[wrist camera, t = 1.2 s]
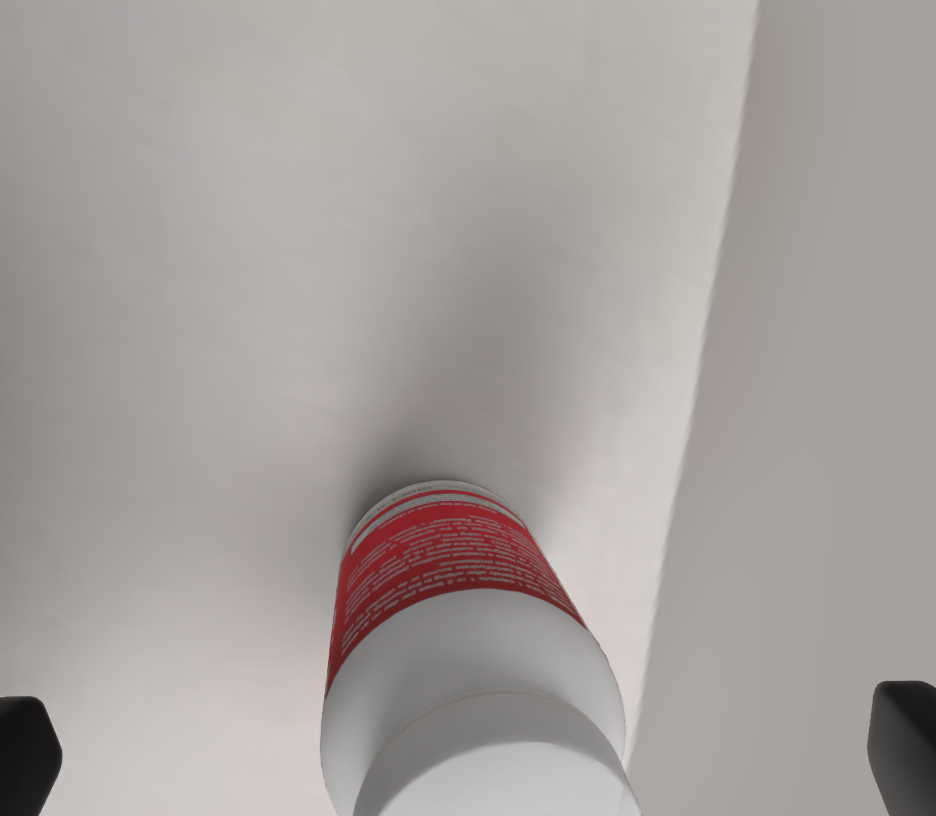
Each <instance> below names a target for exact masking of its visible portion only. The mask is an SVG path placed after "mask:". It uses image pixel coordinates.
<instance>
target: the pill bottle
mask: <svg viewBox="0 0 936 816" xmlns="http://www.w3.org/2000/svg"><path fill="white" fill-rule="evenodd" d="M624 745H625V714H624V707H623V702H622V697H621V694H620V690H619V687H618V683H617V681H616V678H615V676H614V673H613V671H612V669H611V667H610V664H609V661H608V659H607V657H606V655H605V654H604V652H603V651H602V649H601V648H600V645H599V643H598V642H597V640H596V639H595V638H594V636H593V635H592V633H591V632H590V630H589V629H588V627H587V625H586V624H585V622H584V620H583V619H582V617H581V615H580V614H579V612H578V610H577V609H576V607H575V605H574V604H573V602H572V601H571V599H570V597H569V596H568V594H567V592H566V590H565V589H564V587H563V585H562V584H561V582H560V580H559V579H558V577H557V575H556V573H555V571H554V570H553V568H552V567H551V565H550V564H549V562H548V560H547V559H546V557H545V555H544V553H543V552H542V550H541V548H540V547H539V545H538V543H537V541H536V540H535V538H534V536H533V535H532V533H531V531H530V530H529V528H528V527H527V525H526V524H525V522H524V521H523V519H522V518H521V517H520V516H519V514H518V513H517V512H516V511H515V510H514V509H513V508H512V507H511V506H510V505H509V504H508V503H507V502H505V501H504V500H503V499H501V498H500V497H498V496H497V495H495V494H494V493H492V492H490V491H488V490H486V489H484V488H482V487H479V486H477V485H474V484H470V483H466V482H460V481H453V480H435V481H427V482H421V483H417V484H414V485H410V486H408V487H405V488H402V489H400V490H398V491H396V492H394V493H392V494H390V495H389V496H387V497H385V498H384V499H383V500H381V501H380V502H378V503H377V504H376V505H375V506H374V507H372V508H371V509H370V510H369V511H368V512H367V514H366V515H365V516H364V517H363V518H362V519H361V520H360V522H359V523H358V524H357V526H356V527H355V529H354V530H353V532H352V534H351V536H350V537H349V539H348V542H347V544H346V546H345V549H344V552H343V555H342V559H341V564H340V570H339V576H338V584H337V590H336V600H335V608H334V616H333V625H332V633H331V641H330V649H329V660H328V669H327V678H326V686H325V695H324V704H323V711H322V721H321V737H320V756H321V767H322V772H323V777H324V781H325V785H326V788H327V791H328V794H329V796H330V799H331V801H332V804H333V806H334V808H335V810H336V812H337V814H338V815H339V816H643V815H642V813H641V809H640V806H639V803H638V801H637V799H636V797H635V795H634V793H633V790H632V788H631V786H630V784H629V782H628V780H627V777H626V775H625V772H624V770H623V767H622V764H621V762H622V758H623V754H624Z"/></svg>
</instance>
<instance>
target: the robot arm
mask: <svg viewBox="0 0 936 816" xmlns="http://www.w3.org/2000/svg"><path fill="white" fill-rule="evenodd" d="M867 749H868V757H869V762H870V766H871V769H872V772H873V775H874V778H875V780H876V783H877V785H878V788H879V790H880V793H881V795H882V798H883V800H884V803H885V806H886V808H887V811H888V814H889V816H936V688H935V687H933V686H932V685H930V684H928V683H925V682H923V681H884V682H881V683H879V684H878V685H877V687H876V688H875V691H874V695H873V703H872V711H871V719H870V727H869V735H868V745H867ZM61 765H62V749H61V745H60V743H59V741H58V738H57V736H56V733H55V731H54V728H53V726H52V723H51V721H50V718H49V716H48V713H47V711H46V709H45V706H44V704H43V703H42V702H41V701H40V700H39V699H38V698H36V697H32V696H17V697H2V698H0V816H39V814H40V812H41V810H42V808H43V806H44V804H45V802H46V799H47V797H48V795H49V793H50V791H51V789H52V787H53V785H54V783H55V781H56V779H57V777H58V774H59V772H60V769H61Z"/></svg>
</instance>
